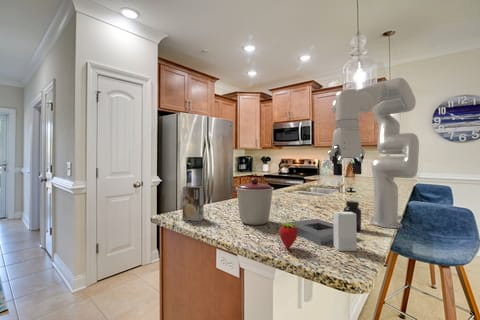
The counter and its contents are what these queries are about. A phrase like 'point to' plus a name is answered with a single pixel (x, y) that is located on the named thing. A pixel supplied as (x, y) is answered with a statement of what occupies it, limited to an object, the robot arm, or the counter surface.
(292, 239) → the strawberry
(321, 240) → the housing
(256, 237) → the counter surface
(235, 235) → the counter surface
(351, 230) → the skincare box
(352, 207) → the supplement bottle
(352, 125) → the robot arm
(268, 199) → the canister
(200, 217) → the coffee box
